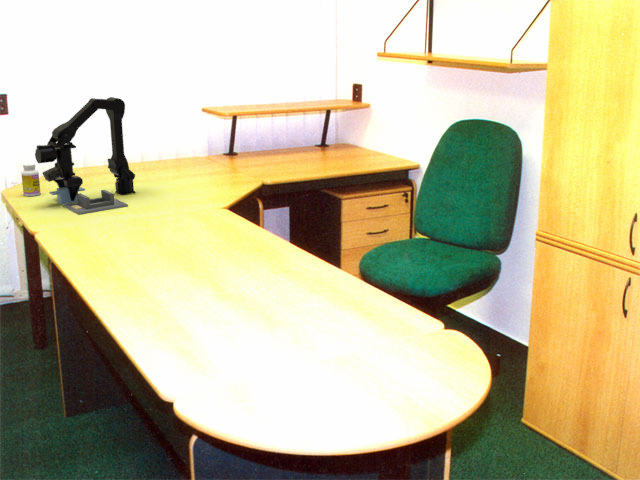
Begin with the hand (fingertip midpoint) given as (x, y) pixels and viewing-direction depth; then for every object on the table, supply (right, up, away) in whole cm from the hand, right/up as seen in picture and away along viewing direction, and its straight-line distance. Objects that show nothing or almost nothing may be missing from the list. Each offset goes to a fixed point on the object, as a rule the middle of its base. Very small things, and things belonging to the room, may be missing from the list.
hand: (68, 198), depth 286 cm
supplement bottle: (-19, +2, +11) cm, 22 cm away
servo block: (0, -1, 0) cm, 2 cm away
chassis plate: (+13, -3, -5) cm, 14 cm away
